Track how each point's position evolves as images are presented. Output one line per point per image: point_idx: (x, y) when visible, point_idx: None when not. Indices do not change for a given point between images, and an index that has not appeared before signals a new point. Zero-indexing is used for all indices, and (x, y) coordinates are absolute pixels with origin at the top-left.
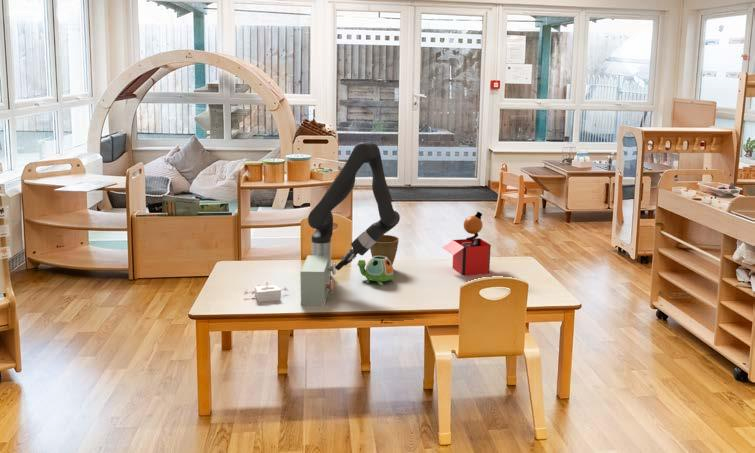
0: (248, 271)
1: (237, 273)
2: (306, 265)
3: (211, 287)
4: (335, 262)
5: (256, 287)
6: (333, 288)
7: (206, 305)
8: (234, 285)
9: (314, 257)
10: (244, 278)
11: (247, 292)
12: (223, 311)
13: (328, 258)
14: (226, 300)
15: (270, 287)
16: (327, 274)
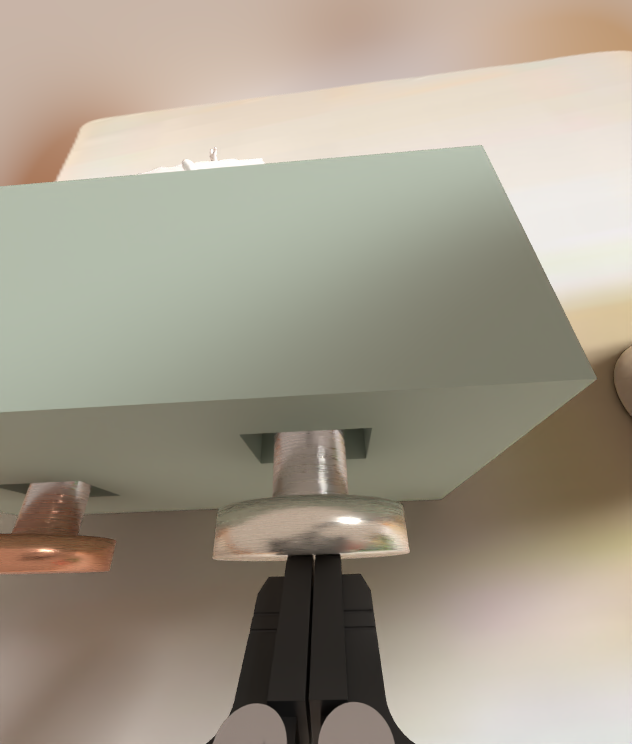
0: (559, 115)
1: (514, 99)
2: (37, 204)
3: (329, 90)
4: (306, 550)
5: (223, 161)
6: (86, 571)
7: (147, 121)
8: (363, 124)
9: (397, 210)
10: (459, 126)
11: (213, 160)
12: (76, 163)
13: (384, 387)
14: (191, 144)
15: None
16: (216, 466)
